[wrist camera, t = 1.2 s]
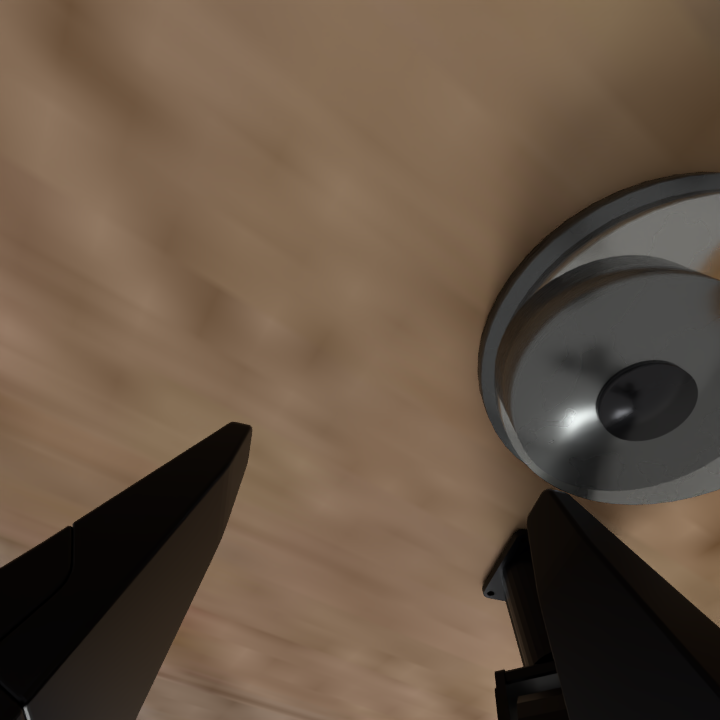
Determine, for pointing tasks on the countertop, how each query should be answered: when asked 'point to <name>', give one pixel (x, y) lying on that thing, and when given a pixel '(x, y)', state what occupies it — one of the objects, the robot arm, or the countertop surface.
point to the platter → (658, 239)
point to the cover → (616, 373)
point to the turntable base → (552, 251)
